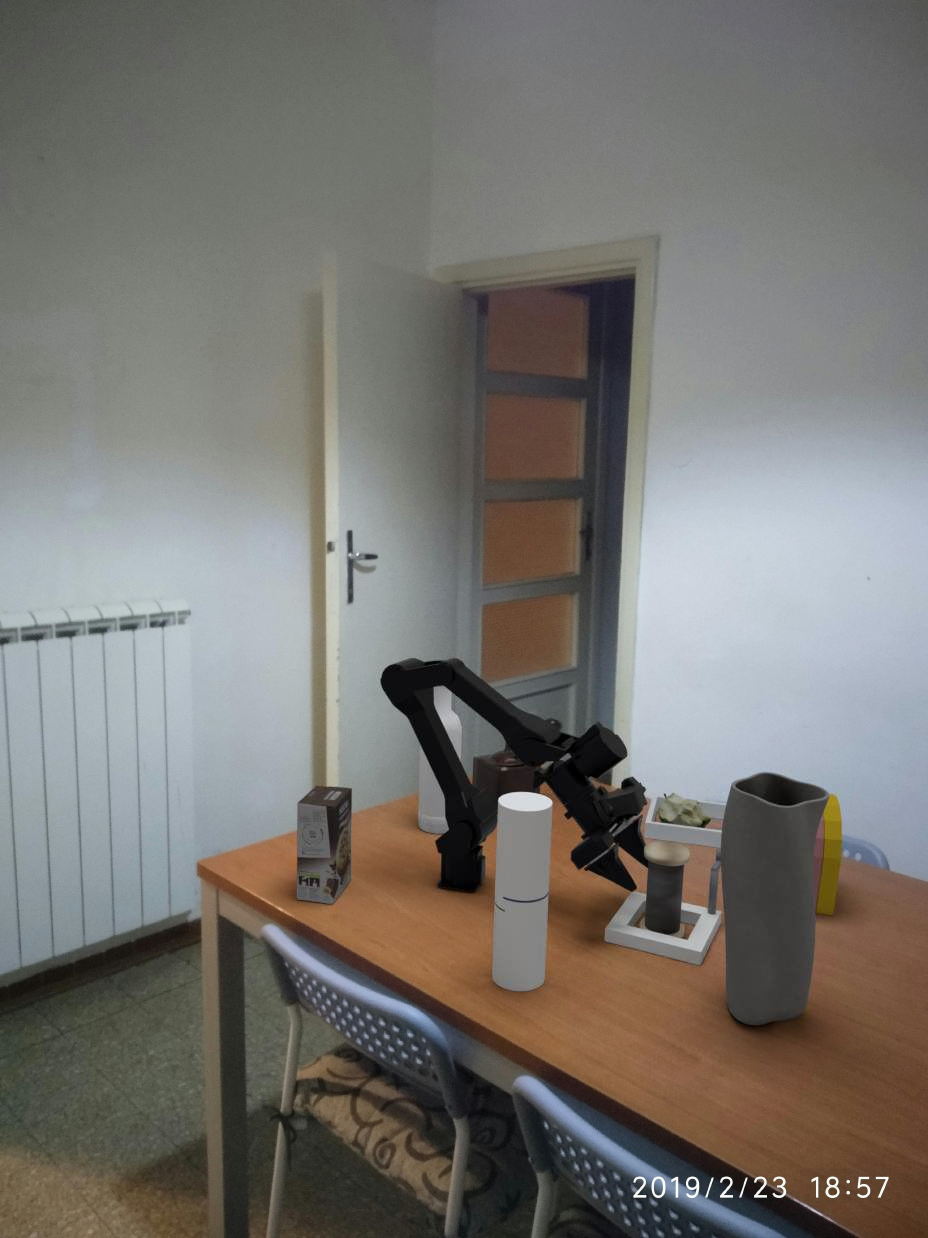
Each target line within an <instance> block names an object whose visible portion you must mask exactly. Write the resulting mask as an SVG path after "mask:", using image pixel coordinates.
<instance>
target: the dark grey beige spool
mask: <svg viewBox="0 0 928 1238" xmlns="http://www.w3.org/2000/svg"><path fill="white" fill-rule="evenodd" d="M644 856H645V858H646V859H647V860H648V868H647V875H646V877H647V879H646V893H645V894H646V908H645V913H644V918H642V919H641V920H640V922H639V928H640V929H644V930H649V931H653V932H657V933H661V934H665V935H669V936H673V937H677V938H681V939H685V929H686V928H685V925H684V924H683V922H680V919H681V905H682V902H683V901H682V900H683V889H684V888H683V887H684V886H683V885H684V873H685V871H684V870H685V865H686V864H688V863H689V862H690V857H691V852H690V849H688V847H686V846H684V845H682V844H680V843H677V842H672V841H663V840H659V841H653V842H648V843H646V845H645V847H644Z"/></svg>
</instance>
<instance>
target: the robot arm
mask: <svg viewBox="0 0 928 1238" xmlns="http://www.w3.org/2000/svg"><path fill="white" fill-rule="evenodd" d="M379 682H380V687H381V690H383V692H384V695H386V697H387V698H388V699H387V700H389V702H390V703H391V704H392V706H393V707H394V708H395V709H396V710H398V711H399V712H400V713H402V714H403V715H404V716H405V717H406V718H407V720H408V722H409V724H410V726H411V729H412V730H413V732H414V735H415V737H416V739H417V740H418V743H419V746H420V745H421V747H422V750H423V752H424V754H425V756H426V758H427V760H428V762H429V765H430V767H431V769H432V771H433V773H434V775H435V777H436V780H437V782H438V784H439V786H440V788H441V790H442V792H443V795H444V798H445V818H446V822H447V825H448V828H449V830H448V831H447V832H445V833H444V834H441V836H439V837H437V838H436V839H435V840H434V843H435V847H436V849H437V853H438V854H440V855H441V856H440V879H439V880H438V882H437V883H436V885H437V888H441V889H443V888H444V889H446V890H453V891H454V890H456V891H461V892H466V893H467V892H468V893H475V892H476V891H477V890H478V889H479V887H480V886H481V885H482V884H483V883H484V881H485V878H486V860H487V859H486V855H485V854H484V855H483V852H484V851H483V849H484V848H483V847H484V846H483V845H481V844H483V843H484V842H486V841H487V838H488V837H489V836H490V835H491V834H492V833H494V831H495V830H497V829H496V828H497V822H498V815H497V813H496V811H498V808H497V807H496V806H495V805H494V803H493V801H492V799H491V796H490V792H489V791H488V789H484V790H483V791H481V792H480V791H479V790H478V789H477V788H476V787H474V786H473V785H472V781H470V778H469V777H468V774H467V772H466V770H465V767H464V766H463V764H462V760H461V761H460V759H459V757H458V755H457V753H456V751H455V749H454V746H453V744H452V742H451V740H450V738H449V736H448V734H447V732H446V729H445V727H444V725H443V723H442V721H441V719H440V717H439V715H438V712H437V710H436V708H435V705H434V687H437V686H444V687H446V688H447V689H448V690H450V691H451V692H452V694H453V695H454V696H455V697H457V698H458V699H459V700H460V701H462V702H463V703H464V704H466V705H467V706H468V707H469V708H470V709H471V710H473V711H474V712H475V713H476V714H478V715H479V717H481V718H482V719H484V720H485V721H486V722H487V723H489V724H490V725H491V726H492V728H495V729H496V730H497V731H498V732H499V734H500V735H501V736H502V738H503V740H504V742H506V744H507V746H508V748H509V749H510V750H511V751H512V752H513V753H514V754H515V755H516V757H517V758H518V759H519V760H520V761H521V762H522V763H523V764H525V765H527V766H529V767H536V766H540V765H541V766H543V765H545V764H546V763H547V762H549V763H550V762H551V763H550V764H549V765H548V766H546V767H545V768H543V767H541V768H538V769H536V770H535V771H534V780H533V786H532V787H533V788H534V789H537V788H538V787H539V786H540V787H541V786H542V785H543V784H544V783H545V784H546V786H548V788H549V789H550V790H551V791H552V793H553V794H554V796H555V797H556V798H557V800H558V801H559V802H560V803H561V805H562V806H563V807H564V809H565V810H566V812H565V813H563V815H564V817H565V819H566V820H567V821H568V820H570V819H573V821H575V822H576V824H577V825H578V827H579V828H580V829H581V831H582V832H583V833H582V835H580V838H581V839H582V840H581V841H580V842H579V843H578V844H577V845H576V846H575V847H574V848H573V849H572V850H571V851H570V861H571V862H572V864H573V865H574V866H575V867H576V870H578V871H580V870H581V869H583V870H584V871H585V872H588V871H589V872H590V873H593V874H595V875H598V876H600V877H602V878H604V879H606V880H608V881H610V882H612V883H614V884H615V885H617V886H619V887H621V888H623V889H625V890H626V891H629V892H630V893H632V892H633V891H635V892H636V890H637V889H638V886H637V884H636V882H635V881H634V879H633V877H632V876H631V874H630V872H629V870H628V869H627V867H626V866H625V864H624V863H623V861H622V860H621V858H620V855H619V848H620V849H621V850H623V851H624V852H626V853H627V854H628V855H629V856H631V857H632V858H633V859H635V861H637V862H638V863H639V864H641V865H642V866H644V867H645V868H646V869H648V860H647V859H646V858H645V856H644V847H645V845H647V843H646V842H645V839H644V835H643V833H642V831H641V828H642V827H641V826H642V821H643V819H644V815H643V814H641V813H642V812H643V810H644V807H645V806H647V805H648V801H647V798H646V795H645V792H646V791H647V788H646V787H645V786H644V785H643V784H642V782H639V781H638V780H637V779H636V778H635V777H634V776H629V777H626V778H624V779H623V780H622V781H621V784H620V788H619V787H618V788H616V789H615V790H612V791H611V790H610V791H608V790H607V788H606V787H604V786H603V785H601V784H600V785H599V786H598V787H596V785H595V784H594V783H593V782H592V780H591V779H590V778H593V779H597V780H598V779H600V778H601V777H603V776H604V775H606V773H608V772H609V771H611V770H612V769H613V768H615V767H616V766H617V765H619V764H620V763H621V762H623V761H624V760H625V759H626V758H628V755H629V754H628V749H627V747H626V744H625V743H624V740H623V739H622V738H621V737H620V736H619V735H618V734H616V733H615V732H614V731H612V730H611V729H610V728H608V727H605V726H603V724H602V723H601V722H600V721H597V722H595V723H593V724H592V725H591V726H590V727H589V728H588V729H587V730H586V732H584V733H583V734H582V735H581V736H576V735H573V734H571V733H566V732H564V731H562V730H561V731H559V730H558V729H557V727H556V726H554V725H553V724H551V723H549V722H547V721H546V720H545V719H544V718H542V717H540V716H538V715H535V714H533V713H529V712H528V711H525V710H522V709H521V708H519V707H517V706H516V705H514V703H512V702H511V701H509V699H507V698H506V697H505V696H503V695H502V694H501V693H500V692H498V691H497V690H496V689H494V688H493V687H492V686H491V685H490V684H488V682H486V681H485V680H484V679H482V678H481V677H480V676H478V675H477V674H476V673H475V672H474V671H472V670H471V669H470V668H468V666H466V664H465V662H463V660H461V659H459V658H458V657H457V658H456V657H451V658H448V659H435V660H426V661H424V660H421V659H418V658H417V657H410V658H407V659H403V660H400V661H397V662H395V663H392V664H389V665H388V666H386V667H385V668H384V669H383V671H382V673H381V677H380V678H379ZM566 755H569V756H570V757H569V758H568V759H566V760H563V759H562V758H564V757H565V756H566ZM637 816H638V817H637Z"/></svg>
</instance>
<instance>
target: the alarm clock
mask: <svg viewBox="0 0 928 1238" xmlns="http://www.w3.org/2000/svg"><path fill="white" fill-rule="evenodd" d="M829 795H830V797H829V799H828V802H827V805H826V807H825V810H824V812H823V815H822V818H821V821H820V824H819V827H818V831H817V835H816V840H815V847H814V862H813V869H814V894H815V914H819V915H828V916H834V911H835V907H836V906H835V905H836V898H837V892H838V886H839V877H840V870H841V862H842V850H843V825H842V824H843V822H842V821H843V820H842V813H841V805H840V802H839V799H838V797H837V796H836V795H835V794H834V793H829Z"/></svg>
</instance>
